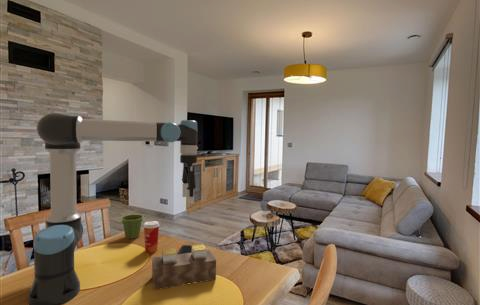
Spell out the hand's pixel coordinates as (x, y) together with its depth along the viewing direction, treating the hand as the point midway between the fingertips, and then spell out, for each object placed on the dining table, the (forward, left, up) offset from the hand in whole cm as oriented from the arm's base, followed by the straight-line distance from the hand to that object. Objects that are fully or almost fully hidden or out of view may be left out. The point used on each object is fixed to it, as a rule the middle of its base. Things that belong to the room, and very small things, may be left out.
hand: (188, 200), depth 125 cm
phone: (+1, +7, -29) cm, 29 cm away
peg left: (-10, -16, -23) cm, 30 cm away
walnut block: (-4, -16, -28) cm, 33 cm away
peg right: (+2, -16, -23) cm, 28 cm away
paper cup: (-15, +15, -28) cm, 35 cm away
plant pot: (-24, +37, -28) cm, 52 cm away
